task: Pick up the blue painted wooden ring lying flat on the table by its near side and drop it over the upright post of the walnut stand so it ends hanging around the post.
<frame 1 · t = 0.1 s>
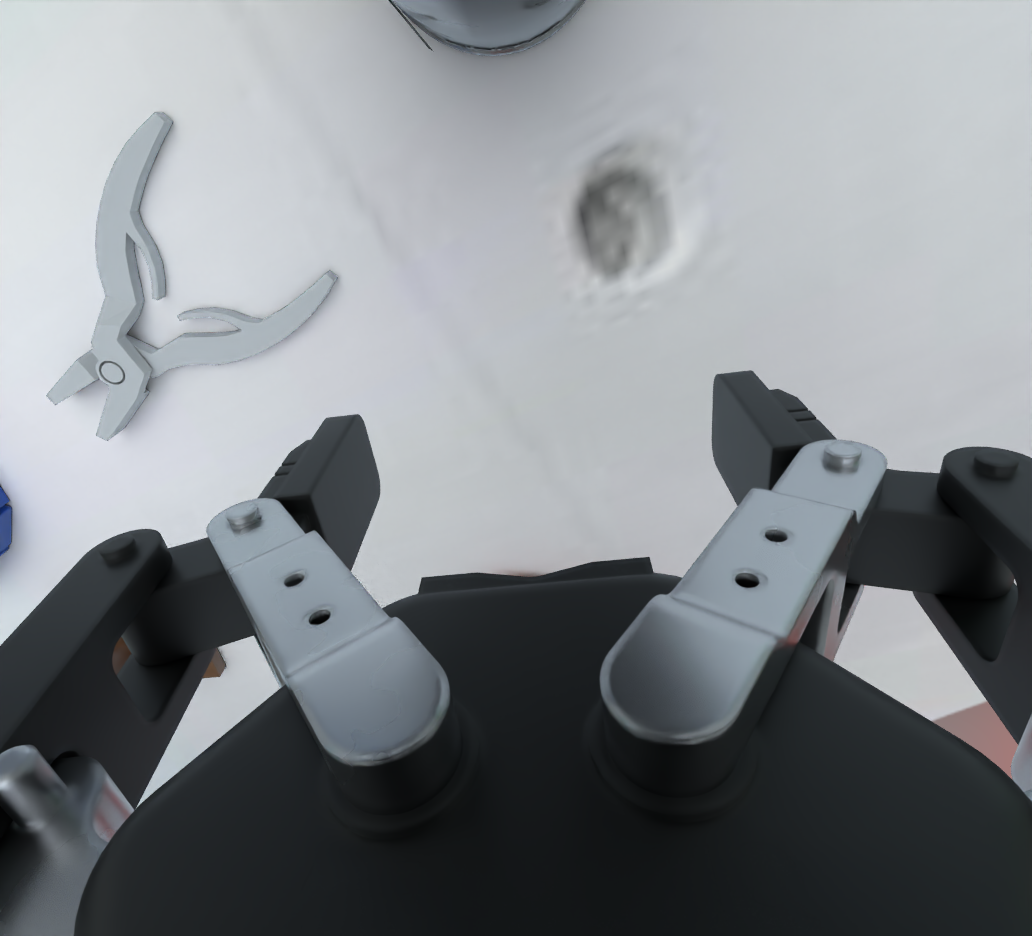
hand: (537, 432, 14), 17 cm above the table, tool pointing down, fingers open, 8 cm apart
pliers: (169, 311, 31), on the table
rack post: (147, 628, 41), on the table
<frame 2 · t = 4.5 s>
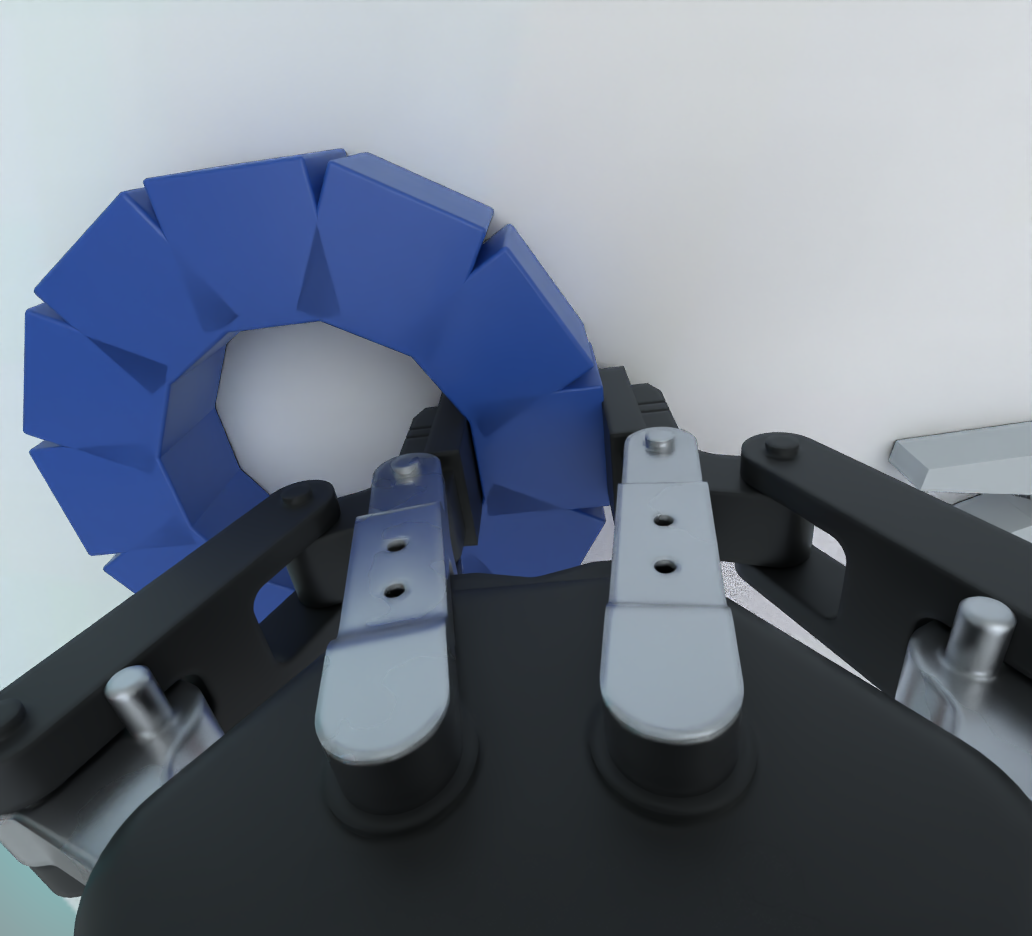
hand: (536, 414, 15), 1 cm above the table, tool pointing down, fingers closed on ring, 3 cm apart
ring: (354, 423, 16), on the table, touching gripper
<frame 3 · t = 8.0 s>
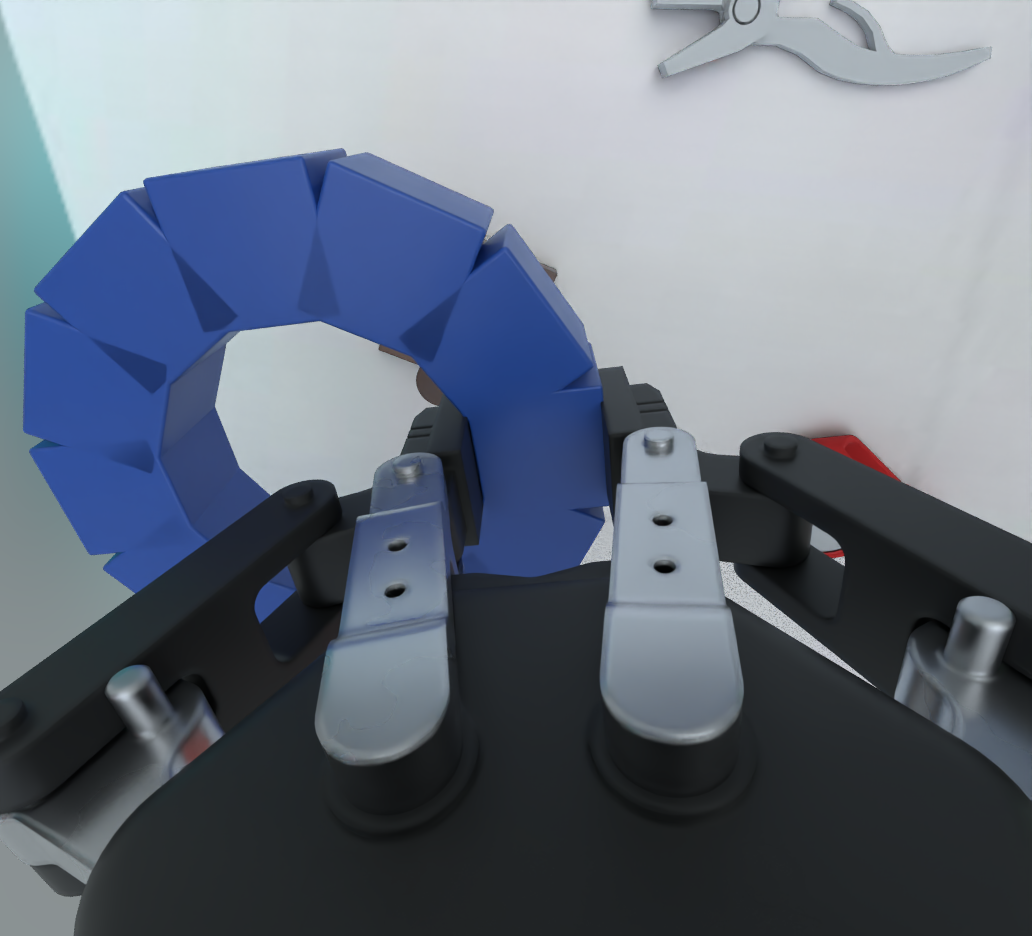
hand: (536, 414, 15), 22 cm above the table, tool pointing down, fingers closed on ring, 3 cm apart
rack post: (466, 308, 36), on the table
ring: (354, 423, 16), point 21 cm above the table, touching gripper
tracker holder: (836, 501, 42), on the table
when the fingers open (11 cm above the table, at t = 11.3 s): ring drops 9 cm, resting on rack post.
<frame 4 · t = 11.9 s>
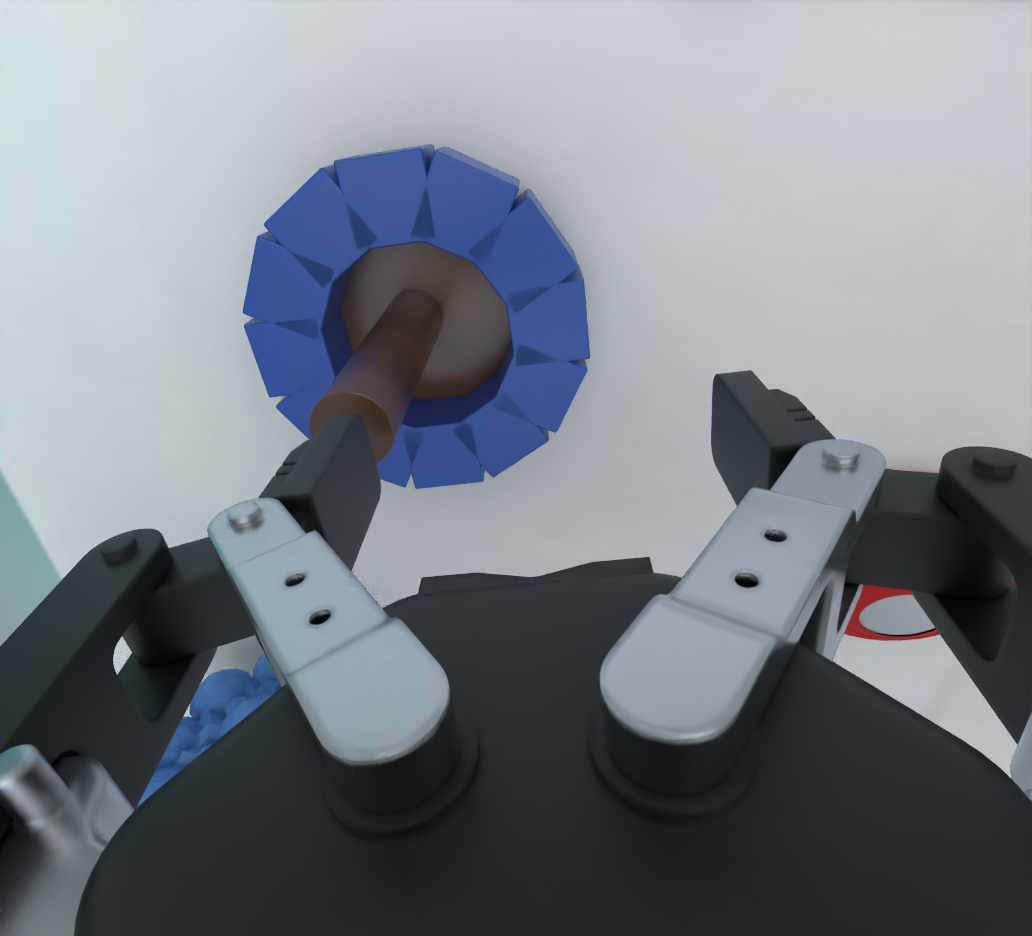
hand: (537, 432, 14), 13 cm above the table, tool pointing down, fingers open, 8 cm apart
grapes: (304, 653, 36), on the table
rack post: (419, 309, 26), on the table
ring: (428, 320, 25), point 1 cm above the table, touching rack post
tracker holder: (912, 567, 32), on the table
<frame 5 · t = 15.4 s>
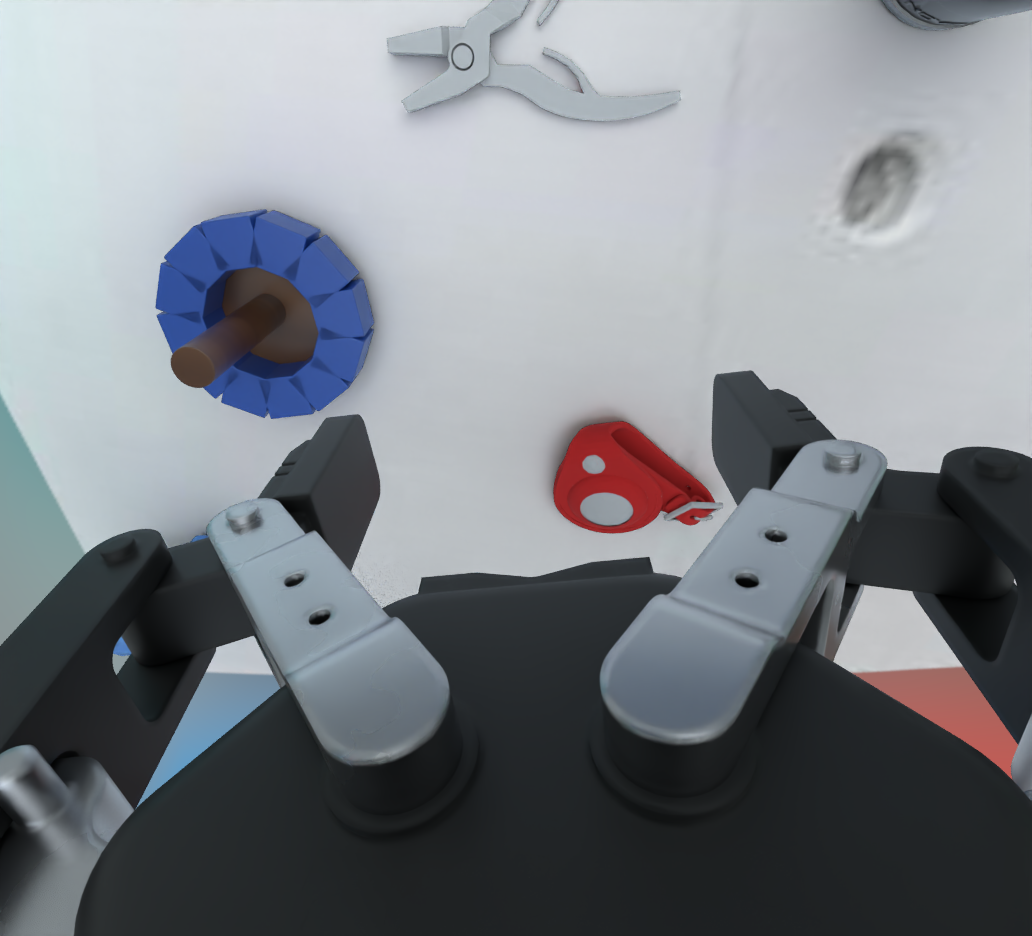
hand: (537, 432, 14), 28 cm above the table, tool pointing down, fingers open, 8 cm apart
pliers: (530, 40, 34), on the table
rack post: (274, 306, 41), on the table
ring: (276, 313, 40), point 1 cm above the table, touching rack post
tracker holder: (627, 482, 48), on the table
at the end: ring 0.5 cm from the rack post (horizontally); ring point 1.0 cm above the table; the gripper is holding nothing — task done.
